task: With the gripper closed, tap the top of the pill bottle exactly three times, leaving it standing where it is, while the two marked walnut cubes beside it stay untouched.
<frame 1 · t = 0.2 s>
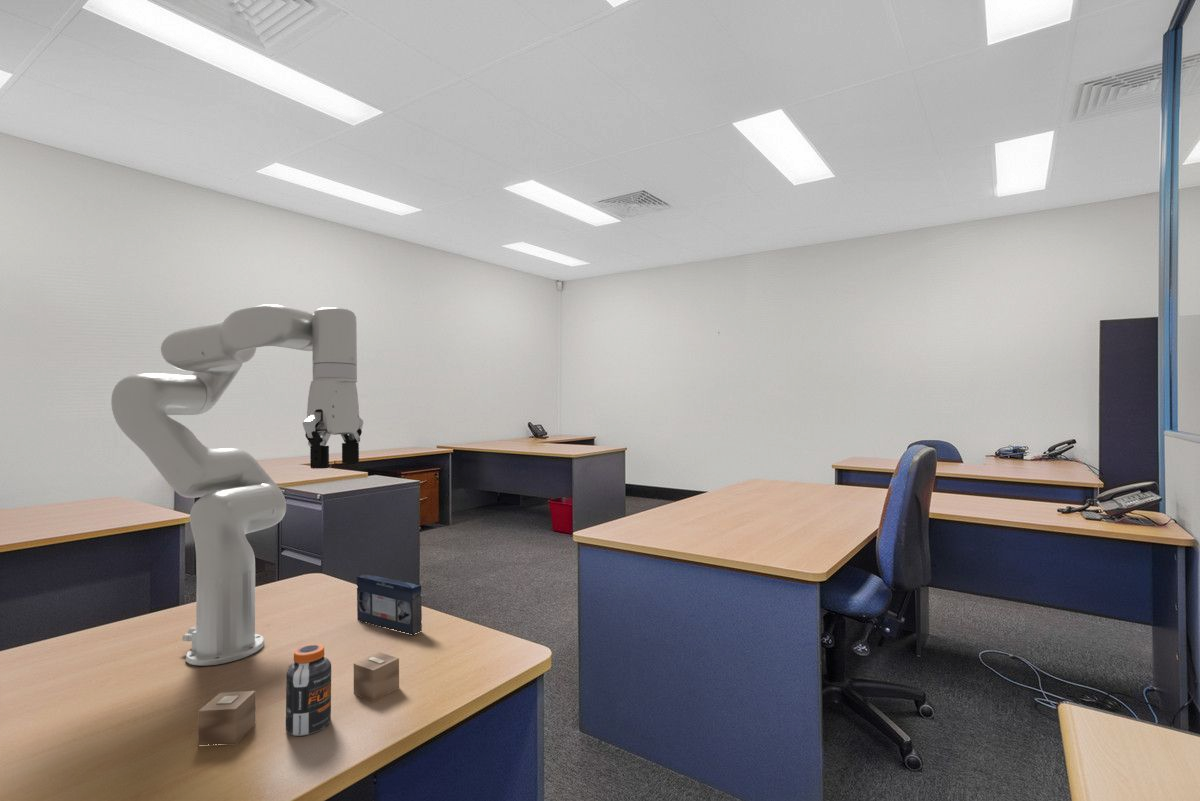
hand: (335, 465, 103), 36 cm above the table, tool pointing down, fingers open, 9 cm apart
marked cube one: (227, 735, 79), on the table
vhs cassette tape: (388, 627, 119), on the table
marked cube two: (376, 691, 91), on the table
pill bottle: (308, 727, 81), on the table
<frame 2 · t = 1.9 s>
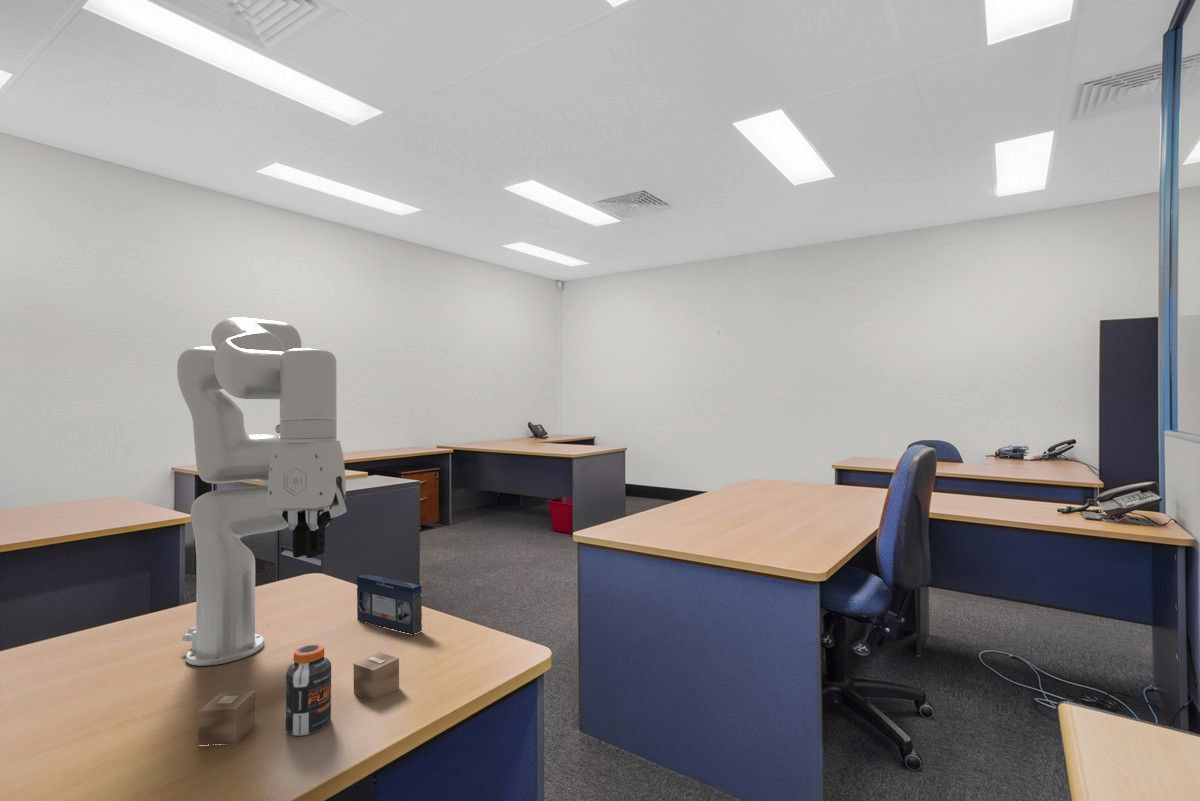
hand: (308, 554, 82), 25 cm above the table, tool pointing down, fingers closed
nothing on the table moved.
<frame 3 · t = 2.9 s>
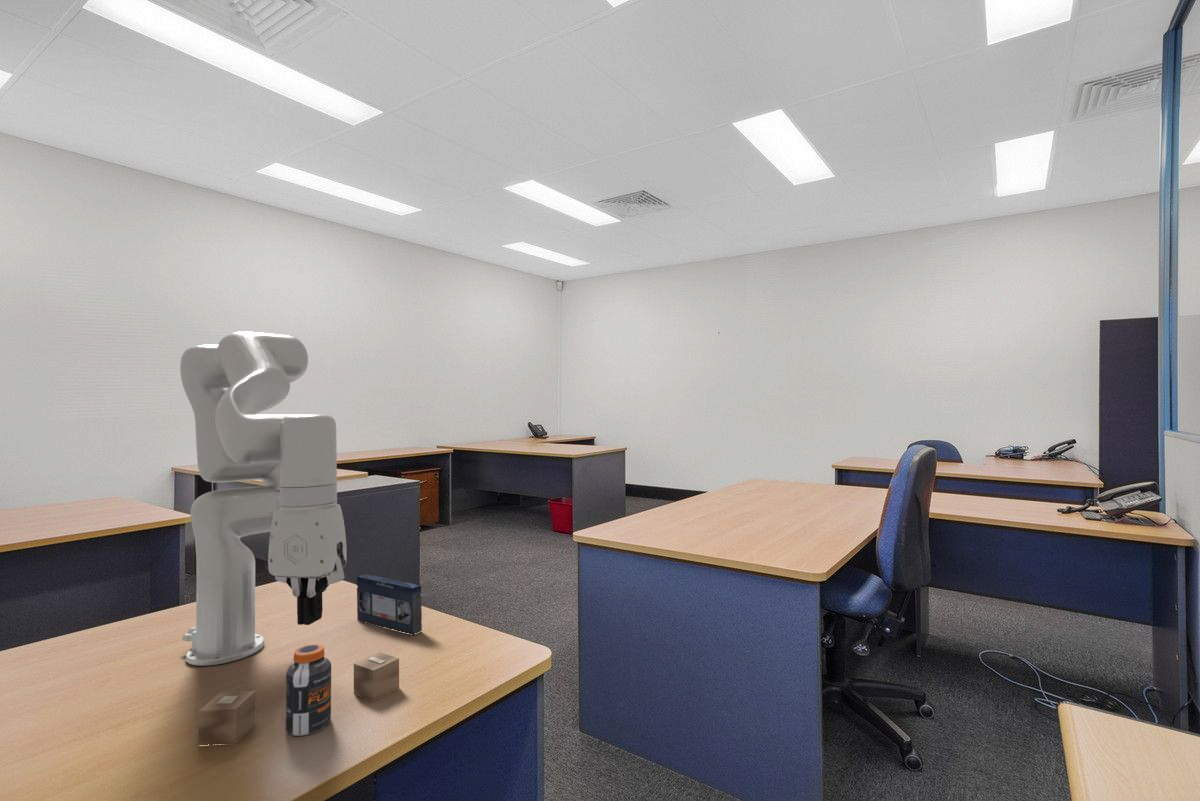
hand: (309, 621, 81), 15 cm above the table, tool pointing down, fingers closed
nothing on the table moved.
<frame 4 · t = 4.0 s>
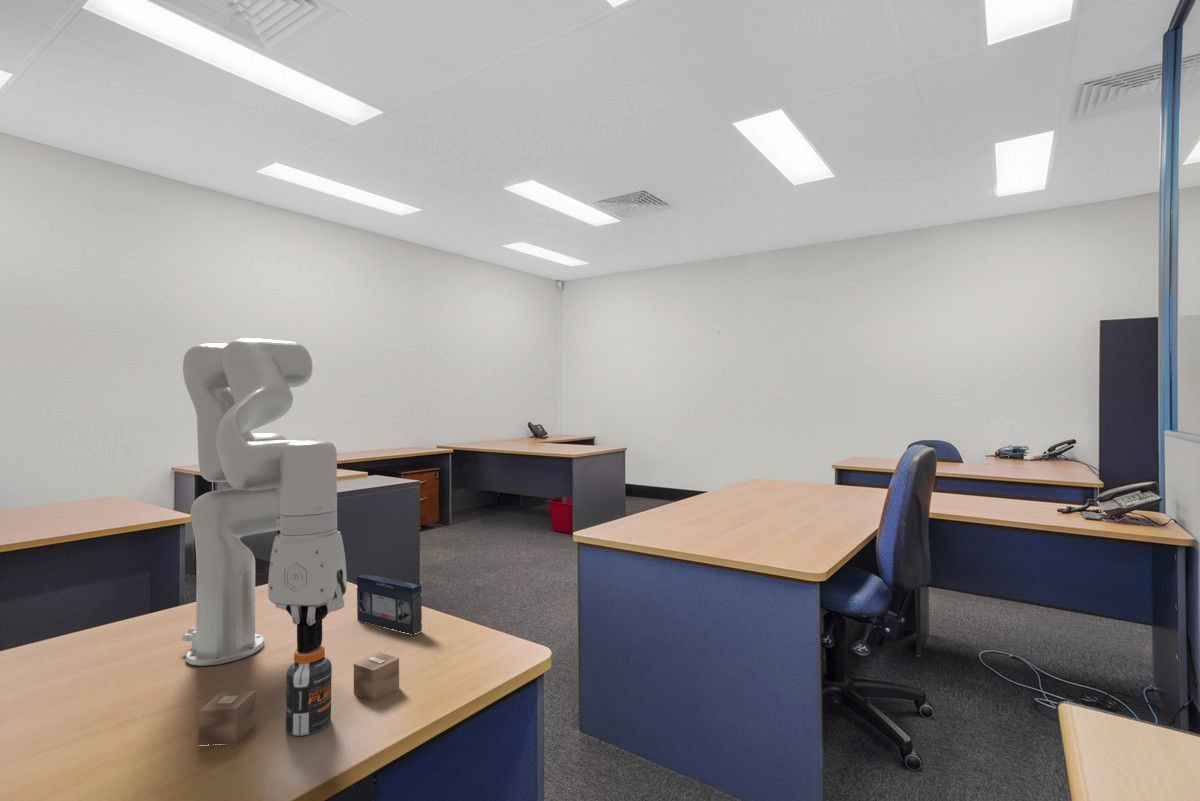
hand: (309, 648, 81), 11 cm above the table, tool pointing down, fingers closed
pill bottle: (308, 726, 81), on the table, touching gripper
everything else where it was.
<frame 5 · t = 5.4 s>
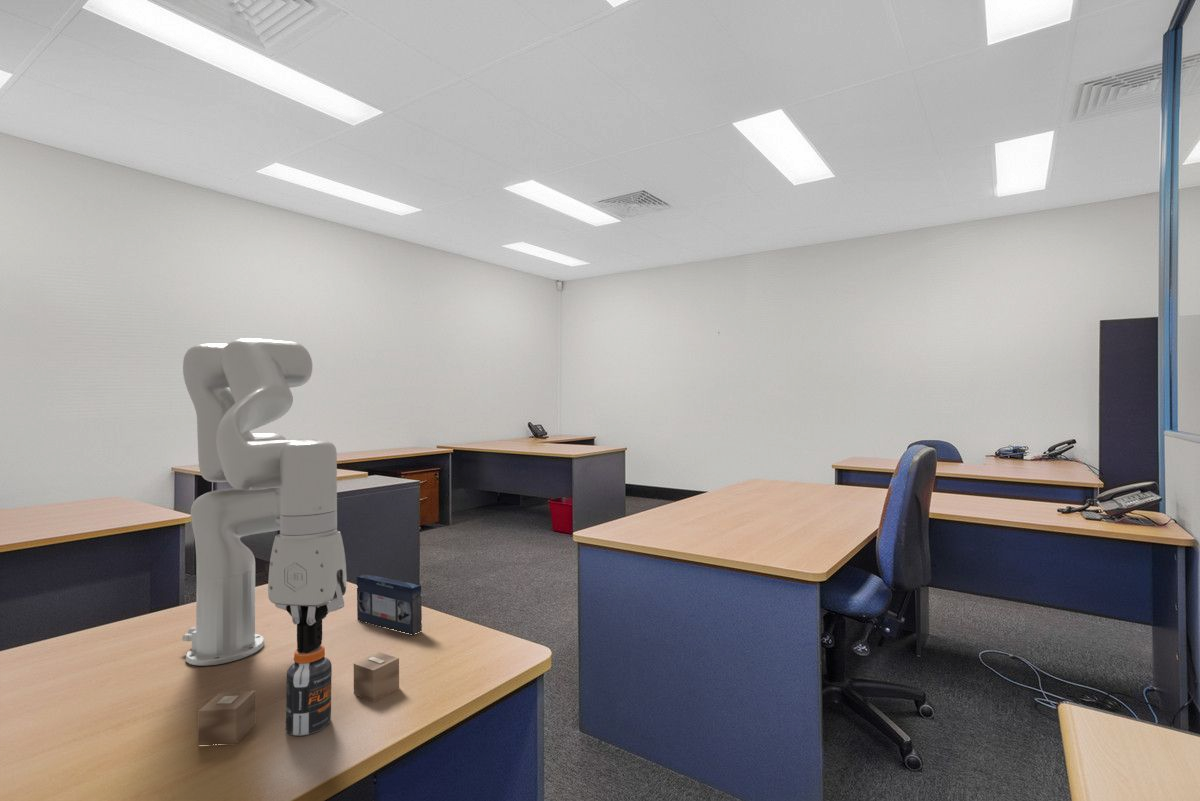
hand: (309, 648, 81), 11 cm above the table, tool pointing down, fingers closed
nothing on the table moved.
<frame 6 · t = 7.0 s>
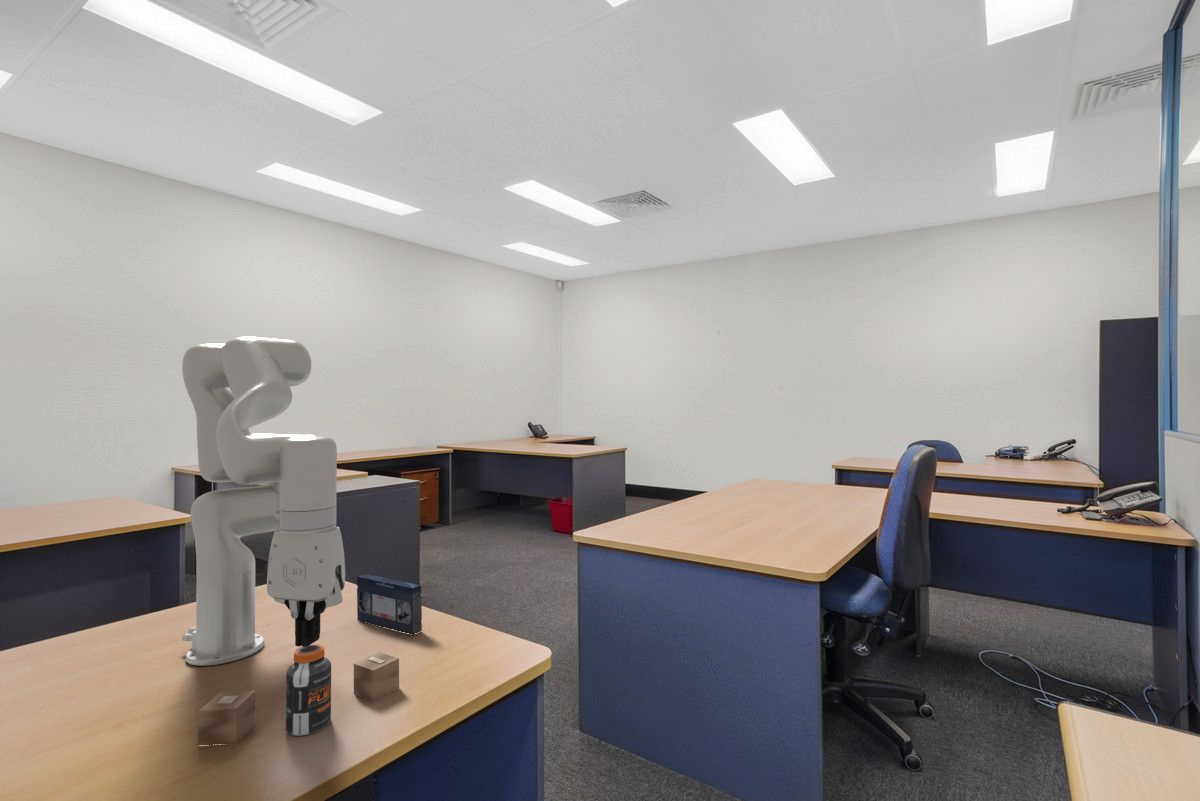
hand: (307, 642, 82), 12 cm above the table, tool pointing down, fingers closed
pill bottle: (308, 727, 81), on the table
everything else where it was.
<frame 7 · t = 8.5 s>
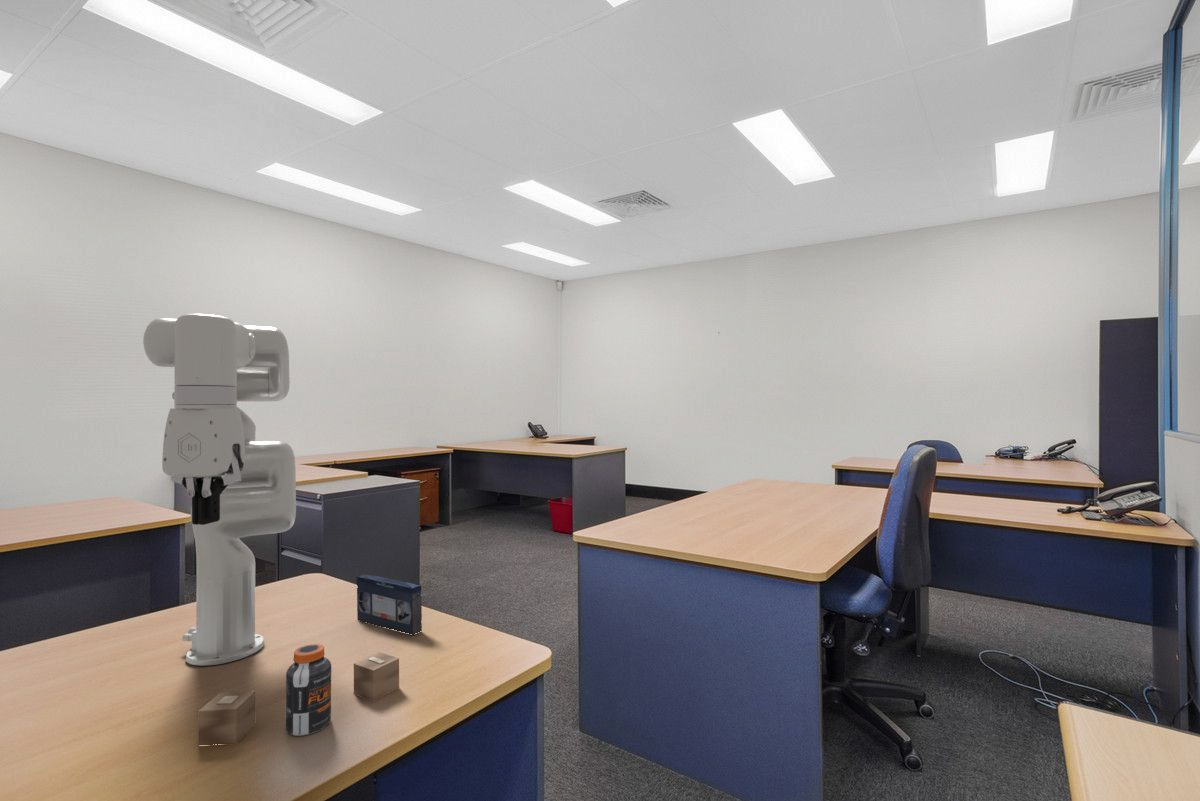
hand: (206, 522, 81), 30 cm above the table, tool pointing down, fingers closed
nothing on the table moved.
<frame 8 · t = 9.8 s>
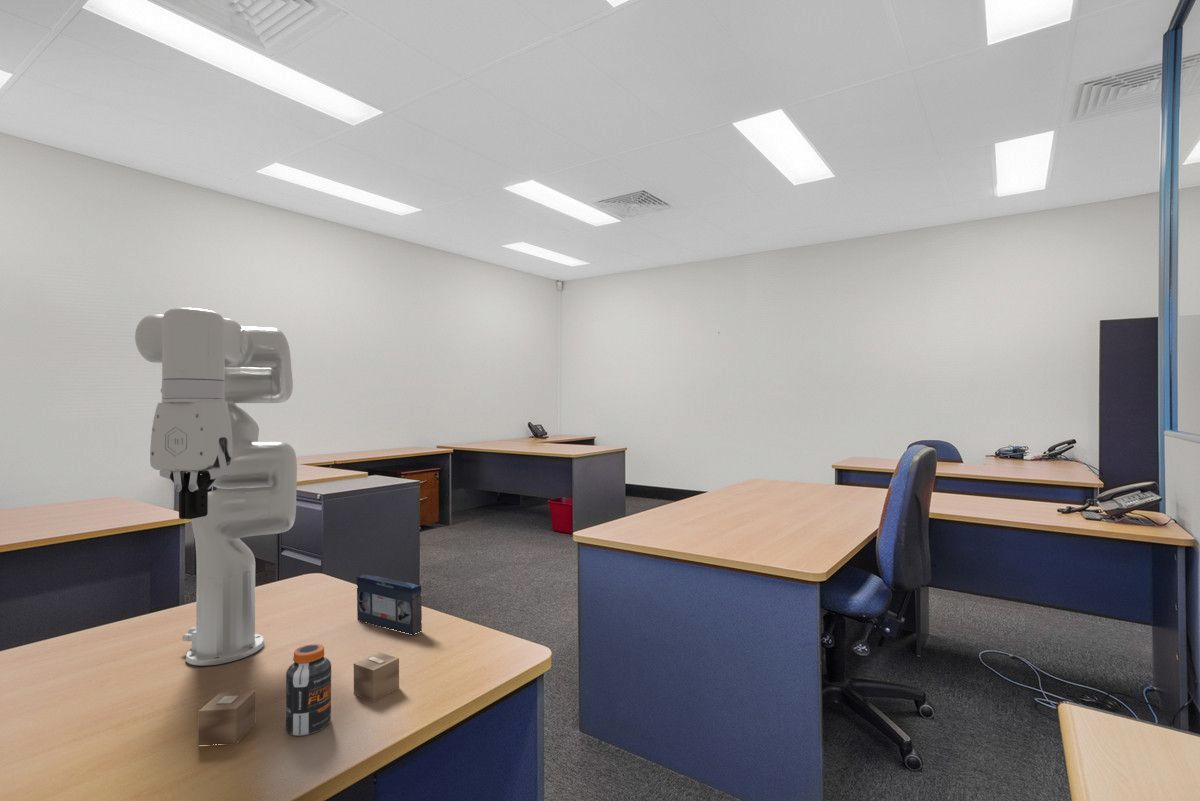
hand: (193, 517, 81), 31 cm above the table, tool pointing down, fingers closed
nothing on the table moved.
at the end: pill bottle moved 0.2 cm from its start; pill bottle tilted 0°; the gripper is holding nothing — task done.
